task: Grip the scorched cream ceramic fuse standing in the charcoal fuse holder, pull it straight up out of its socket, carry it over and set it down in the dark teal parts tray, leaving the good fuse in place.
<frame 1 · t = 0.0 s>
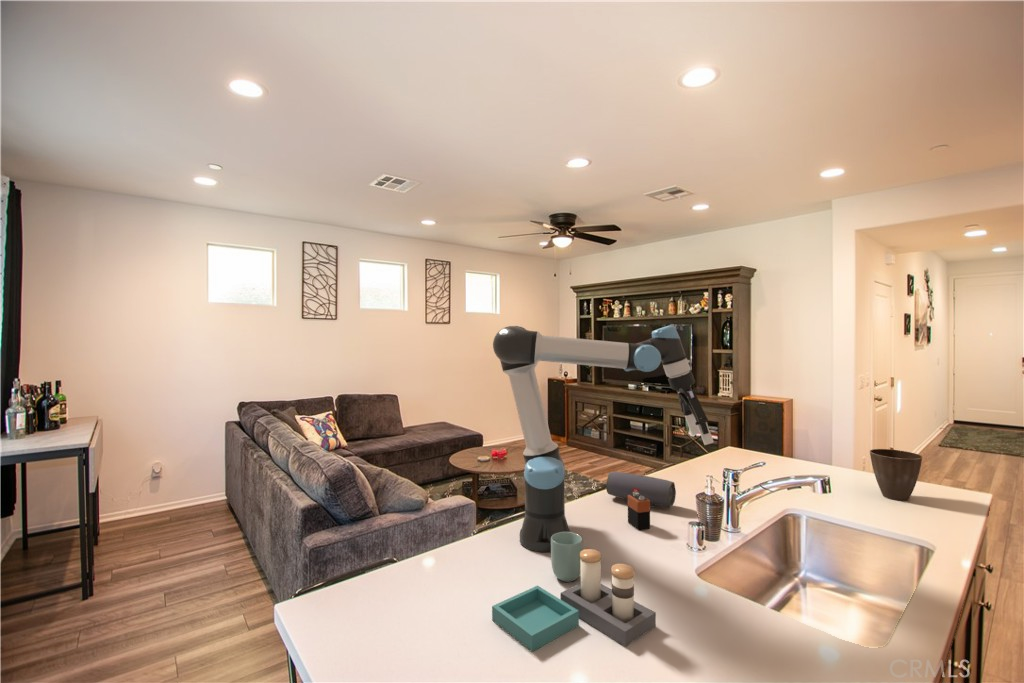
hand: (702, 438, 149), 28 cm above the counter, tool tilted 20°, fingers open, 13 cm apart
parts tray: (535, 622, 101), on the counter
fuse holder: (606, 615, 103), on the counter
cup: (566, 578, 120), on the counter
battery: (638, 526, 151), on the counter
bluetooth speaker: (640, 503, 171), on the counter
good fuse: (590, 606, 107), resting in fuse holder
plant pot: (895, 497, 174), on the counter
blown fuse: (623, 625, 100), resting in fuse holder
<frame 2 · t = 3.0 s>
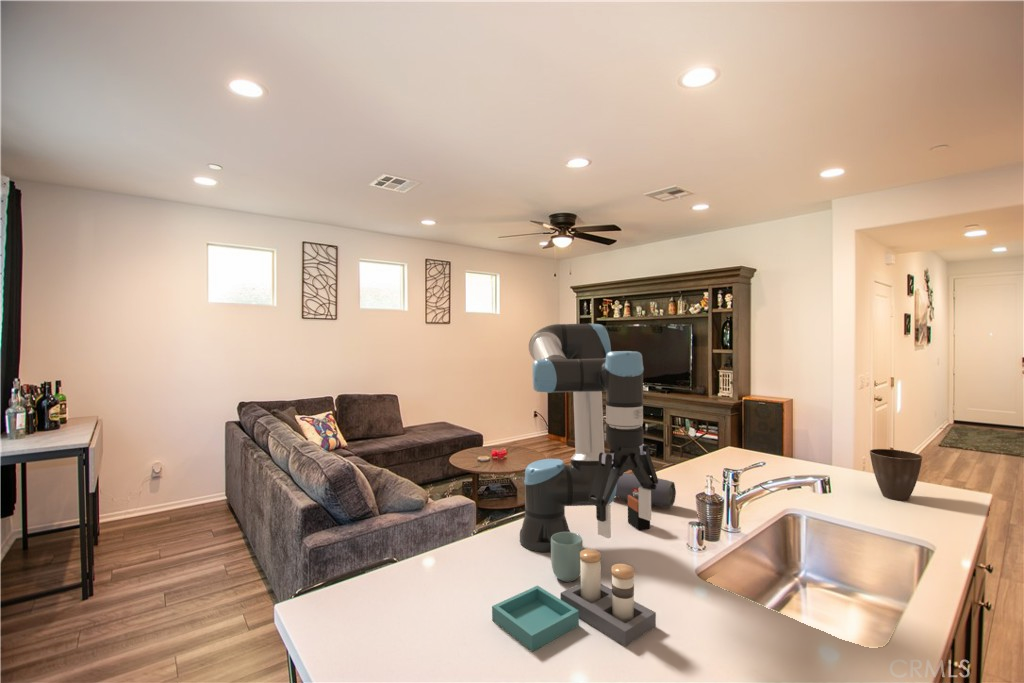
hand: (625, 527, 100), 21 cm above the counter, tool pointing down, fingers open, 13 cm apart
nothing on the counter moved.
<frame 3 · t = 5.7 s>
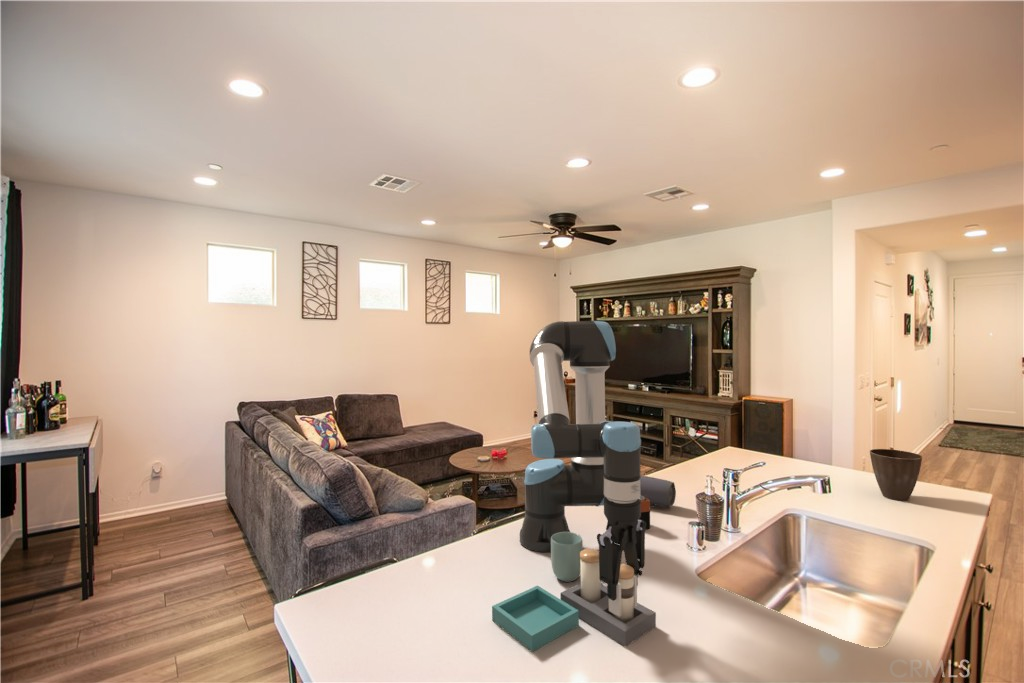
hand: (622, 608, 100), 4 cm above the counter, tool pointing down, fingers closed on blown fuse, 4 cm apart
blown fuse: (623, 625, 100), resting in fuse holder, touching gripper
everything else where it was.
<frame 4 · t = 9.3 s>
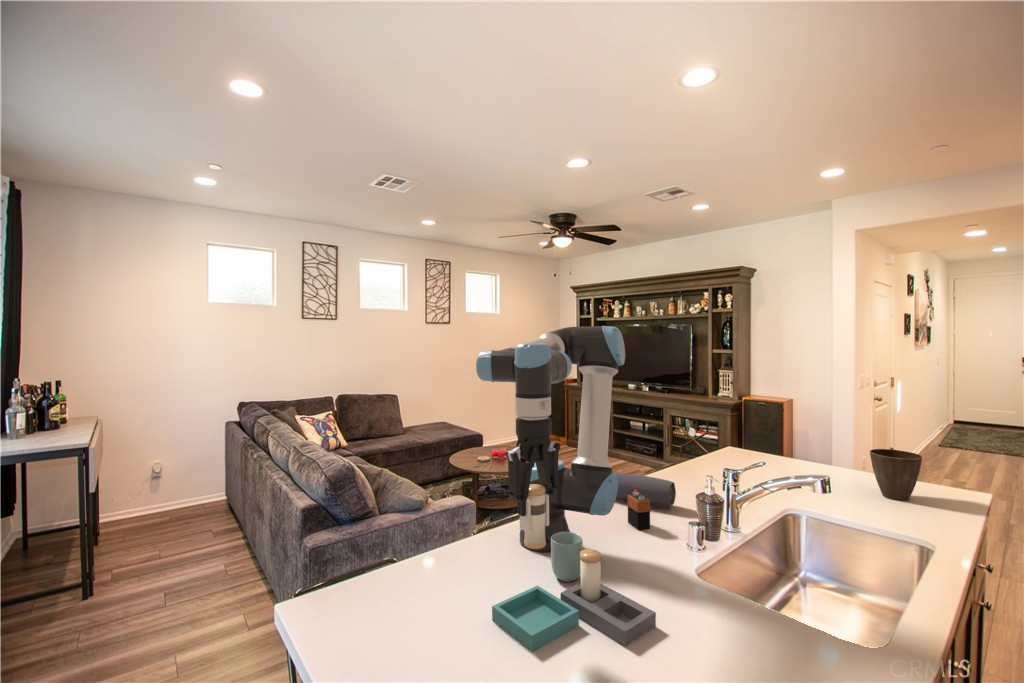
hand: (534, 526, 101), 21 cm above the counter, tool pointing down, fingers closed on blown fuse, 4 cm apart
blown fuse: (535, 544, 101), point 17 cm above the counter, touching gripper
everything else where it was.
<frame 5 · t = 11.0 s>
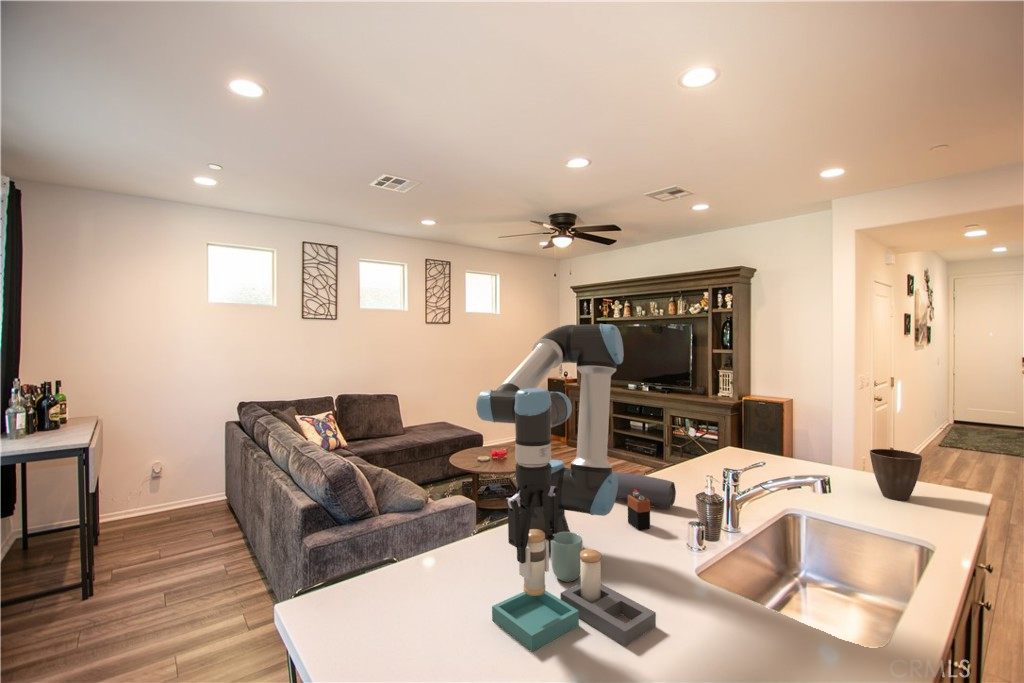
hand: (534, 572, 101), 11 cm above the counter, tool pointing down, fingers closed on blown fuse, 4 cm apart
blown fuse: (534, 590, 101), point 7 cm above the counter, touching gripper
everything else where it was.
when the fingers open (6 cm above the counter, at t = 12.7 s): blown fuse drops 1 cm, resting on parts tray.
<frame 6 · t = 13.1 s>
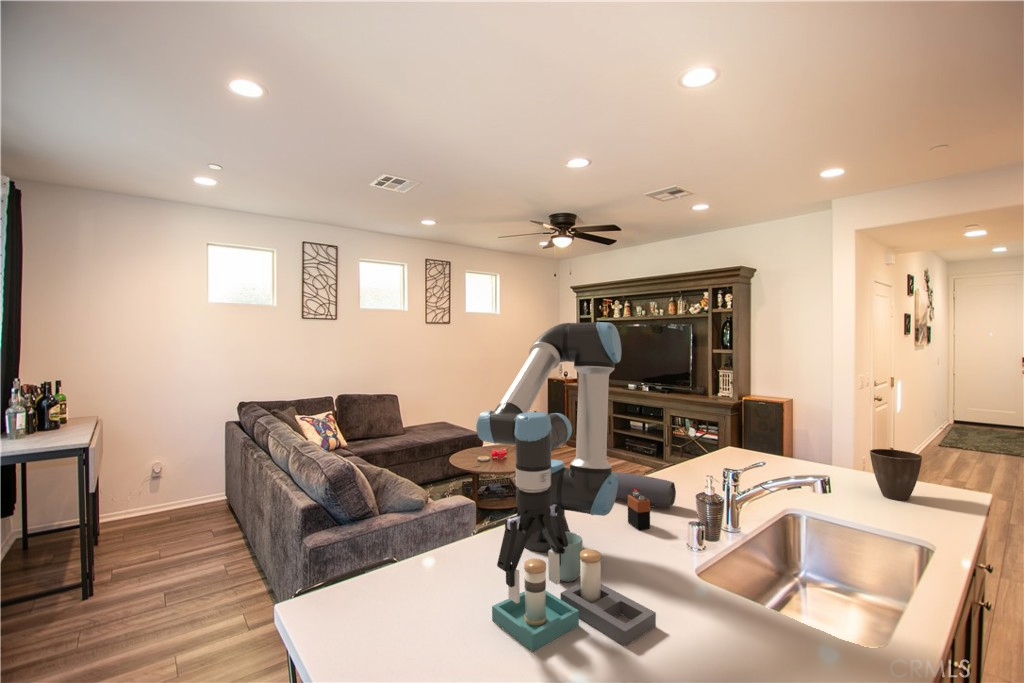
hand: (534, 590, 101), 7 cm above the counter, tool pointing down, fingers open, 10 cm apart
blown fuse: (535, 619, 101), point 1 cm above the counter, touching parts tray
everything else where it was.
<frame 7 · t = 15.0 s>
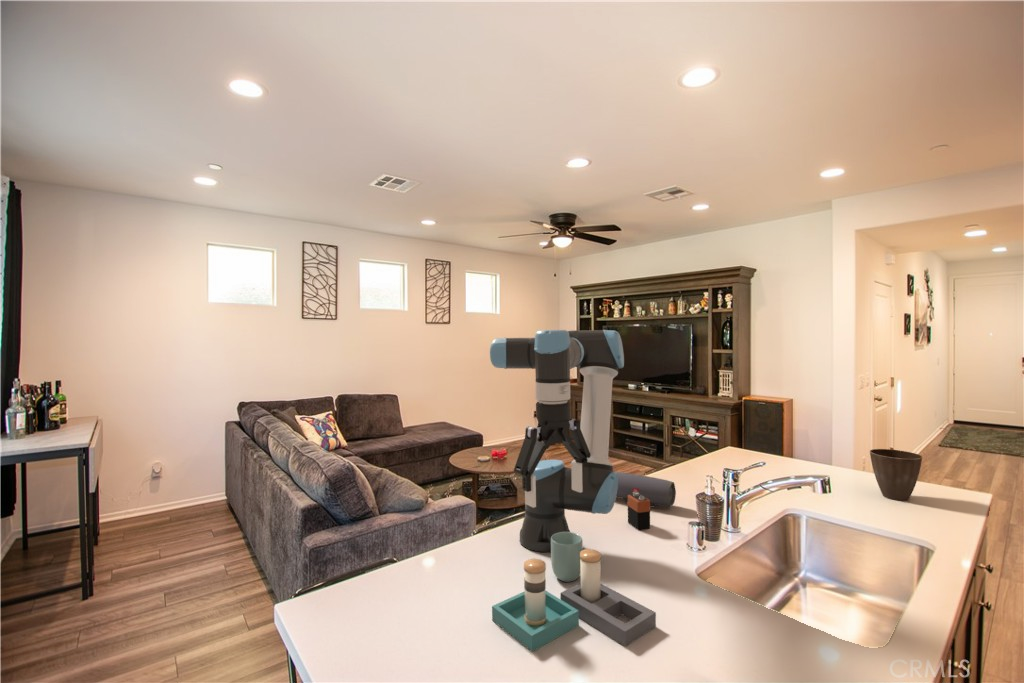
hand: (554, 498, 104), 25 cm above the counter, tool pointing down, fingers open, 13 cm apart
nothing on the counter moved.
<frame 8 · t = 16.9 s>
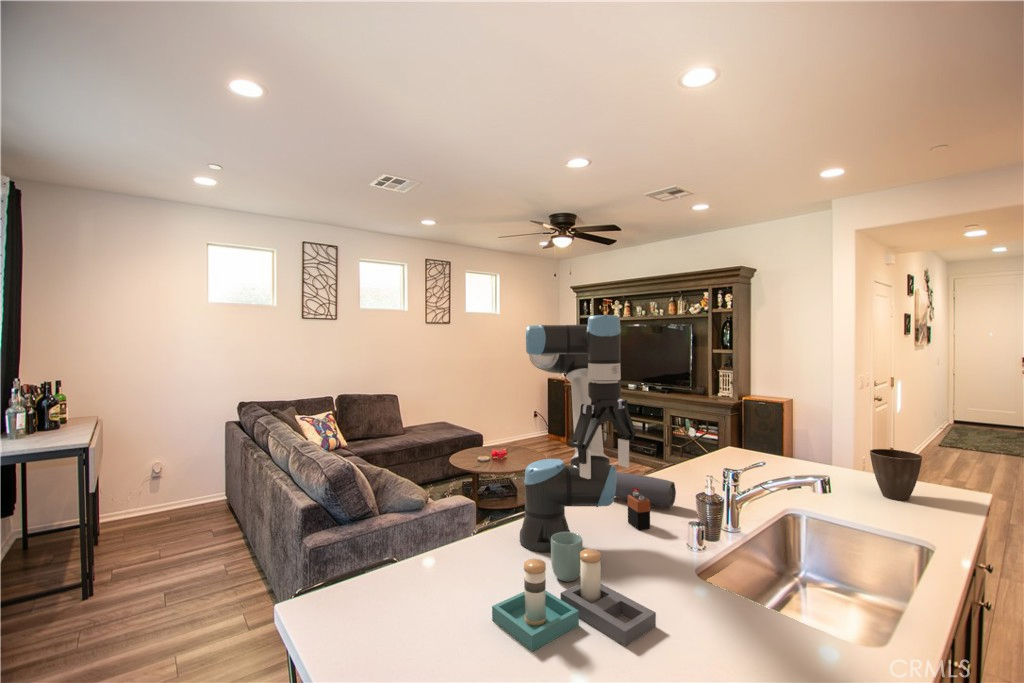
hand: (605, 471, 112), 29 cm above the counter, tool pointing down, fingers open, 13 cm apart
nothing on the counter moved.
at the end: blown fuse inside the target area on the parts tray (0.0 cm from its centre), point 0.6 cm above the parts tray's base; the gripper is holding nothing; good fuse moved 0.0 cm from its start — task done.
